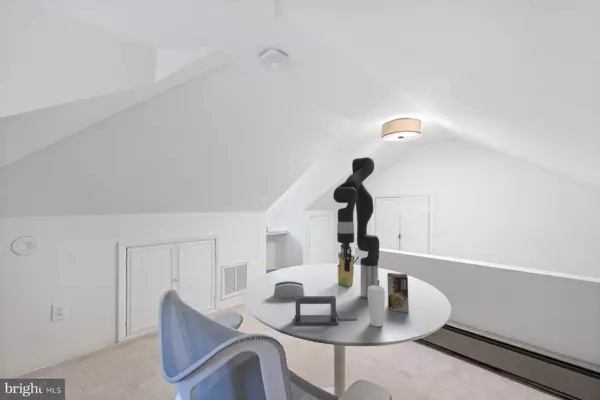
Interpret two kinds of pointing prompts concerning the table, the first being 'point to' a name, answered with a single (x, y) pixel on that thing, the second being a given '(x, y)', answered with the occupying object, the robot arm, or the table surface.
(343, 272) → the block
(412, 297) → the table surface
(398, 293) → the cookie box
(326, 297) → the rail stand
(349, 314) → the slate pad
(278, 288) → the grey curved block
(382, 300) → the drinking glass
